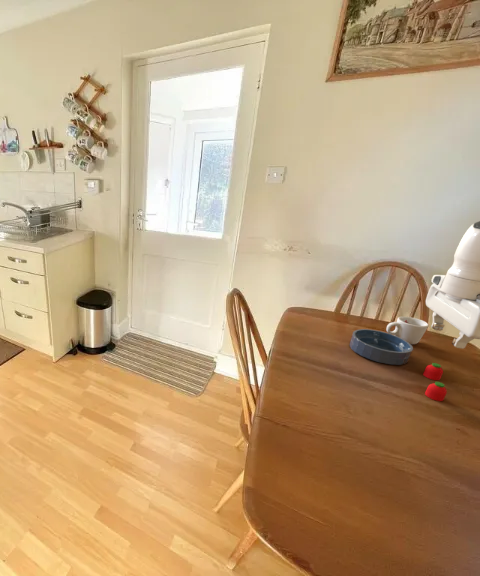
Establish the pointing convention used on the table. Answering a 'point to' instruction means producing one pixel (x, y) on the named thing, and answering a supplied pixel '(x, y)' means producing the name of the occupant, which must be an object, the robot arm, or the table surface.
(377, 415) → the table surface
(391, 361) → the bowl
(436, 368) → the strawberry
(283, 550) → the table surface
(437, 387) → the strawberry
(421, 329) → the cup
